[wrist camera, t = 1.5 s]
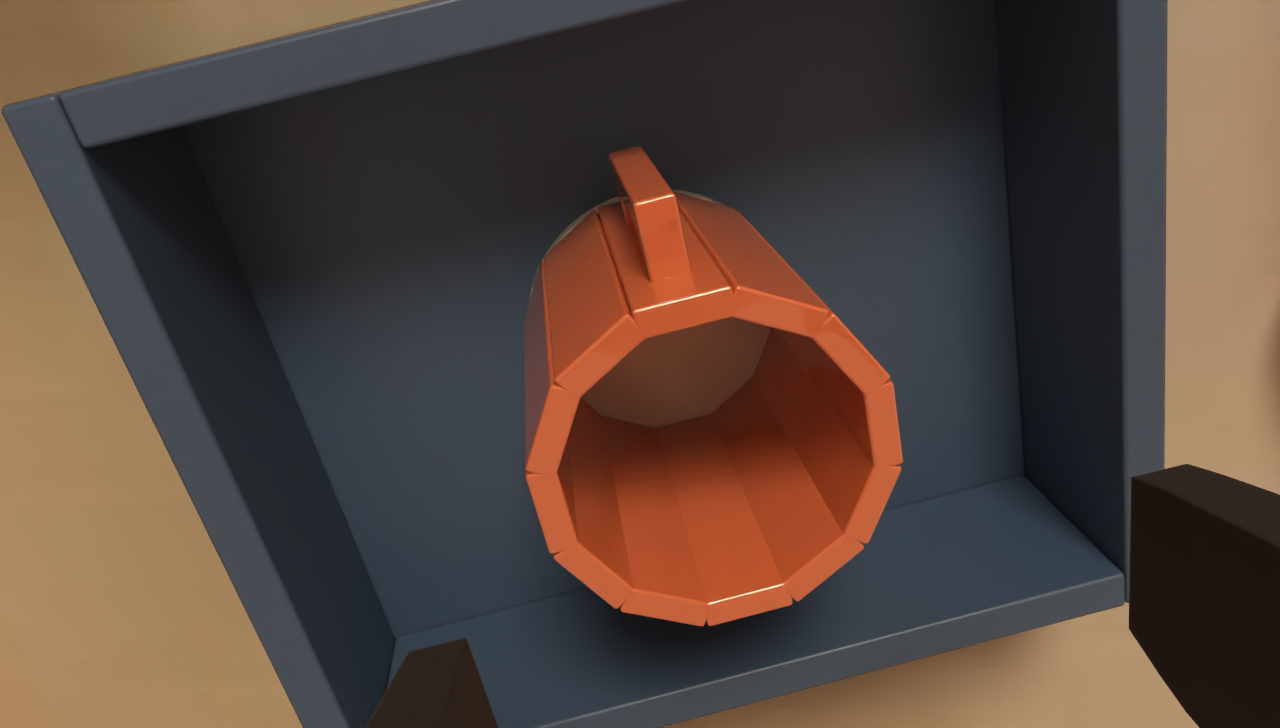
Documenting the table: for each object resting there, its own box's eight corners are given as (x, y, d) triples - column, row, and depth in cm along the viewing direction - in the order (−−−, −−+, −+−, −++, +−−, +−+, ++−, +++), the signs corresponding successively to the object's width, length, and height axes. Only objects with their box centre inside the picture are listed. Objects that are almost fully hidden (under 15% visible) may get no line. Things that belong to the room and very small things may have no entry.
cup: (564, 458, 20) (582, 661, 14) (478, 167, 18) (457, 265, 12) (801, 398, 20) (918, 574, 14) (750, 99, 18) (867, 162, 12)
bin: (375, 657, 22) (342, 813, 18) (125, 75, 17) (-4, 107, 13) (1047, 482, 23) (1165, 596, 18) (1014, -143, 17) (1171, -179, 13)
